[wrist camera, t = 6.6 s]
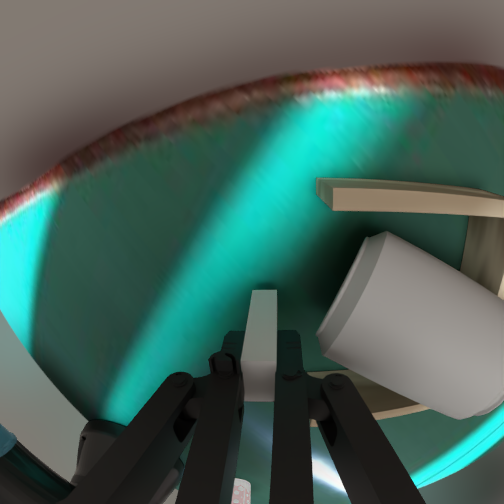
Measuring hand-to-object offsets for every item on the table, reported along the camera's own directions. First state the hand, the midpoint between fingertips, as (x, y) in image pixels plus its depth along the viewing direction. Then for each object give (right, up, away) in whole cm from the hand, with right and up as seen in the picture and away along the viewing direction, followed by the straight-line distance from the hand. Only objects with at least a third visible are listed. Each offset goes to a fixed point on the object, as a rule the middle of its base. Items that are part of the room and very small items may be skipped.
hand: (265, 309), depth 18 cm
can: (+4, +2, -3) cm, 5 cm away
